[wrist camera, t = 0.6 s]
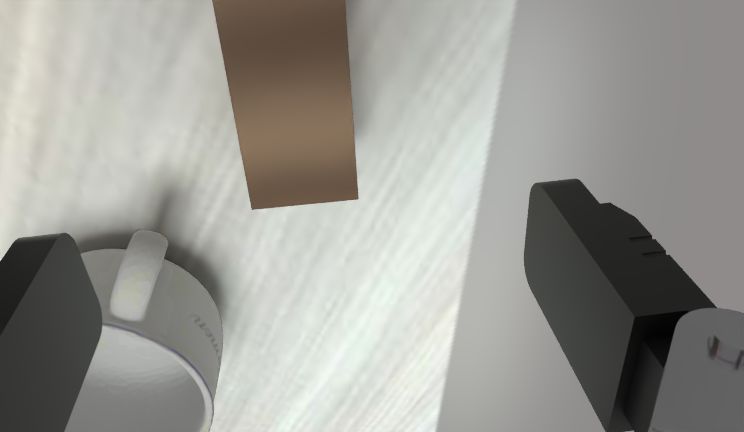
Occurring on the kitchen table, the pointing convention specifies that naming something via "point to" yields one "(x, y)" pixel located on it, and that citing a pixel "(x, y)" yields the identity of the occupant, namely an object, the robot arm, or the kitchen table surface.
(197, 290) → the teacup
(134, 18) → the kitchen table surface
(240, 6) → the walnut beam
